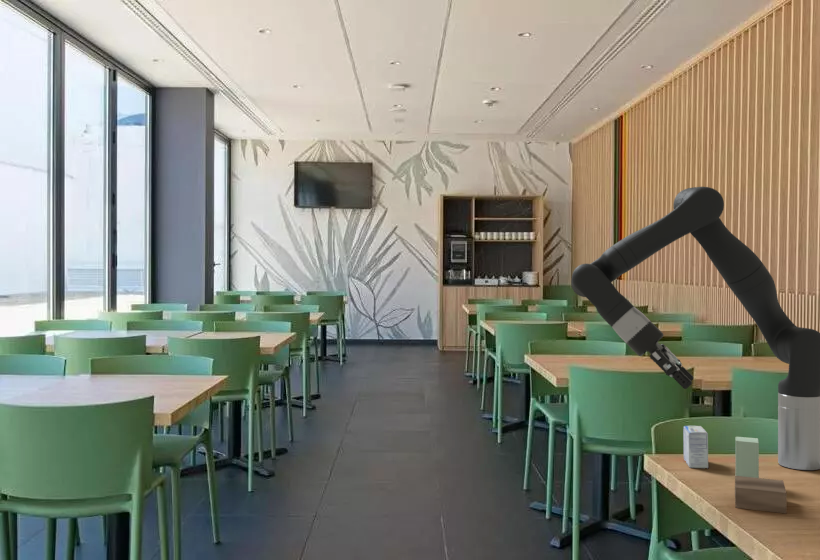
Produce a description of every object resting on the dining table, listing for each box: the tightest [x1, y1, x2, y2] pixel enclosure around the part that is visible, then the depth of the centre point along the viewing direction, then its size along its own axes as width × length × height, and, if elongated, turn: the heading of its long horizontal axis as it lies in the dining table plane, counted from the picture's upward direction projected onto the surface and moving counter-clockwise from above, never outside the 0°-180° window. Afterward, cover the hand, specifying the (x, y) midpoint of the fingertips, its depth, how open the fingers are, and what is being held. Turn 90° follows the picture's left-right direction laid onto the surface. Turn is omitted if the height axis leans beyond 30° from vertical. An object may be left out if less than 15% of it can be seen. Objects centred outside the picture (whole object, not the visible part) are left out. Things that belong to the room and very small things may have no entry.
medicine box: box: [682, 425, 709, 469], centre depth 176 cm, size 8×4×9 cm, turn 168°
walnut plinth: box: [734, 475, 787, 514], centre depth 146 cm, size 9×9×4 cm
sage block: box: [735, 436, 760, 478], centre depth 158 cm, size 4×4×10 cm
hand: (689, 383), depth 163 cm, fingers open, 8 cm apart
